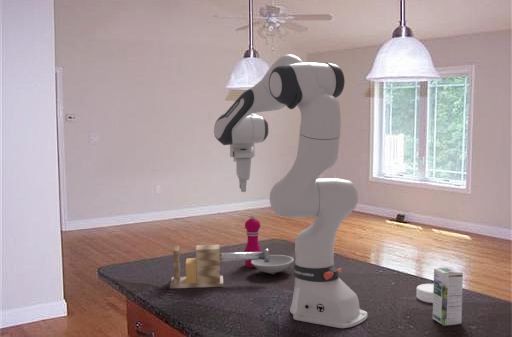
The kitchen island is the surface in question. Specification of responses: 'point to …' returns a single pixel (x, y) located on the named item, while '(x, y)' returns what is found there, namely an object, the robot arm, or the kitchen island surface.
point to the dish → (273, 263)
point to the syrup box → (447, 296)
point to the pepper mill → (252, 238)
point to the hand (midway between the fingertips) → (242, 190)
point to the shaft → (245, 256)
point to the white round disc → (425, 292)
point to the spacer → (191, 271)
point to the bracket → (200, 268)
